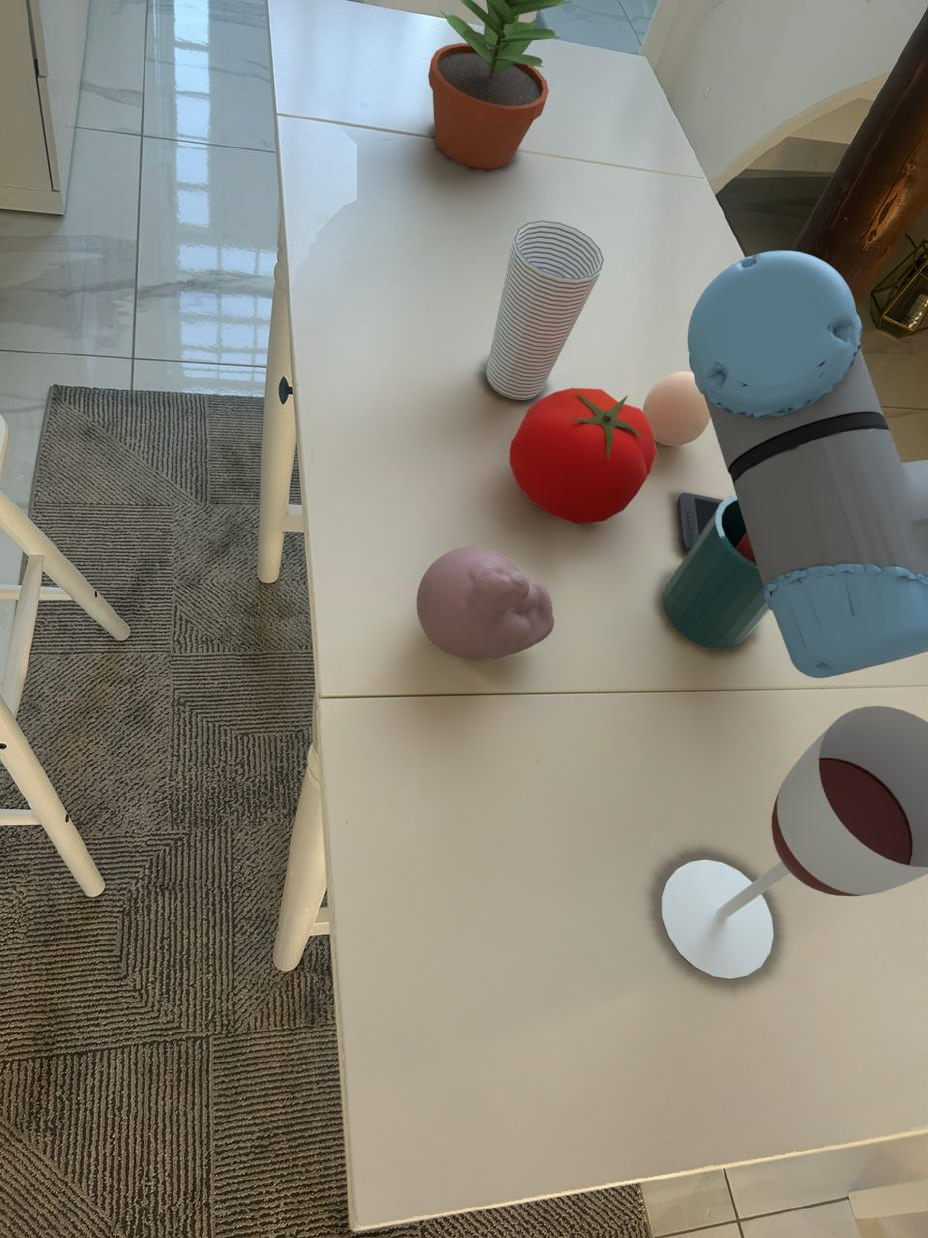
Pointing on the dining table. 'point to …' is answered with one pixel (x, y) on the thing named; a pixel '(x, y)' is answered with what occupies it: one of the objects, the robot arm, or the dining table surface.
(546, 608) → the figurine
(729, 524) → the teal pencil holder
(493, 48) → the potted plant
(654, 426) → the egg
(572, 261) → the cup
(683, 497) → the cell phone
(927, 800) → the wineglass
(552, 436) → the tomato
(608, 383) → the dining table surface
